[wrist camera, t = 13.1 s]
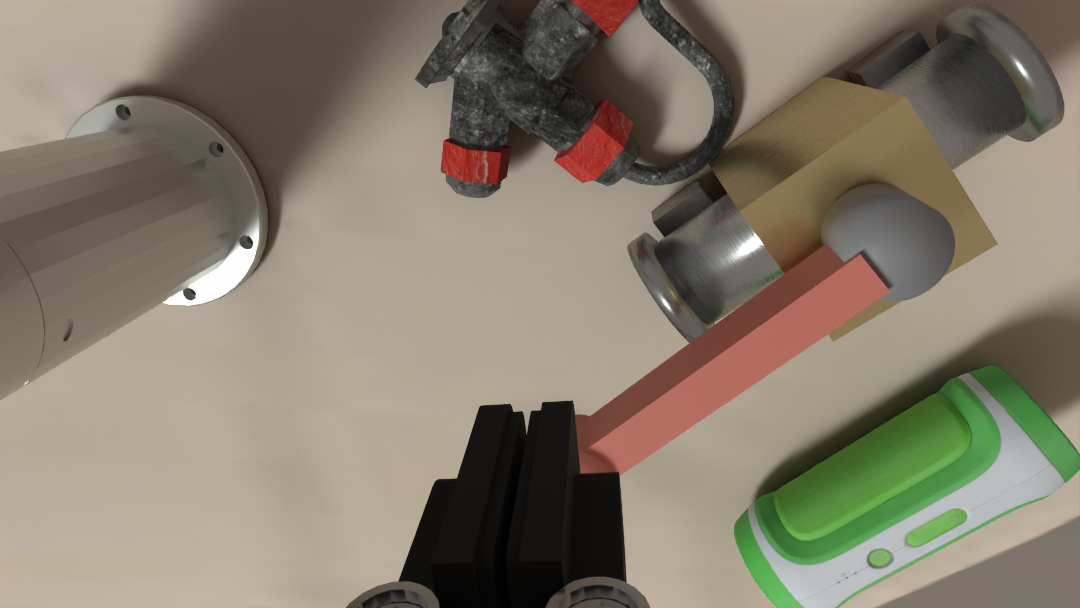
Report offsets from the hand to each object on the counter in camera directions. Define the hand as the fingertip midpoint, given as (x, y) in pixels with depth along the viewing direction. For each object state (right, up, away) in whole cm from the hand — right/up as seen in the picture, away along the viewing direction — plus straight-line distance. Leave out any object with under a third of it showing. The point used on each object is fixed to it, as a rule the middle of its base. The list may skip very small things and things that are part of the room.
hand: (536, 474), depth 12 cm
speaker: (+21, -7, +31) cm, 38 cm away
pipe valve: (+14, +10, +25) cm, 30 cm away
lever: (+7, +1, +17) cm, 18 cm away
